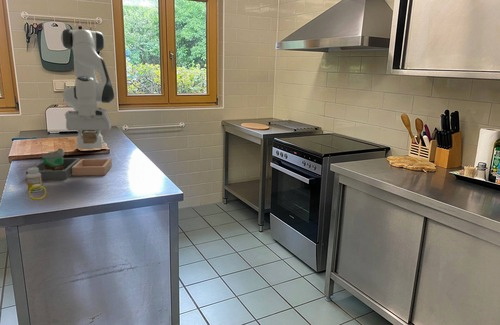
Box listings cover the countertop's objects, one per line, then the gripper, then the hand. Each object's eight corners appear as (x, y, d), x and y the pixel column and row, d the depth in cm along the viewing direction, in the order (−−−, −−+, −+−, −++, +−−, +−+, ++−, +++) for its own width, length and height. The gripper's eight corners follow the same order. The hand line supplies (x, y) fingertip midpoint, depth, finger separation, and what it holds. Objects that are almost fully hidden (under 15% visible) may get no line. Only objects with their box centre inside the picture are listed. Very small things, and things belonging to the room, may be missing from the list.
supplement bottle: (34, 188, 159) (31, 166, 156) (45, 188, 158) (43, 167, 156) (25, 192, 154) (22, 169, 151) (37, 193, 153) (34, 170, 150)
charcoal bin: (46, 166, 192) (45, 158, 191) (81, 165, 194) (80, 158, 193) (26, 180, 169) (25, 171, 168) (66, 179, 171) (65, 171, 170)
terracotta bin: (82, 166, 192) (81, 159, 191) (112, 166, 195) (111, 158, 194) (72, 175, 177) (71, 167, 176) (105, 174, 179) (104, 166, 178)
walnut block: (86, 141, 184) (85, 131, 183) (96, 141, 185) (96, 131, 184) (83, 143, 180) (82, 133, 178) (94, 143, 180) (93, 133, 179)
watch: (30, 201, 144) (27, 187, 143) (30, 199, 147) (27, 185, 145) (47, 198, 147) (44, 184, 145) (47, 196, 149) (44, 182, 148)
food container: (54, 174, 178) (52, 154, 175) (43, 173, 179) (41, 153, 176) (71, 167, 190) (69, 149, 187) (61, 167, 191) (59, 148, 188)
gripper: (62, 111, 174) (65, 140, 177) (107, 112, 177) (109, 140, 180) (67, 109, 180) (69, 137, 183) (110, 110, 183) (112, 137, 186)
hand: (90, 139), depth 182 cm, fingers closed on walnut block, 5 cm apart
